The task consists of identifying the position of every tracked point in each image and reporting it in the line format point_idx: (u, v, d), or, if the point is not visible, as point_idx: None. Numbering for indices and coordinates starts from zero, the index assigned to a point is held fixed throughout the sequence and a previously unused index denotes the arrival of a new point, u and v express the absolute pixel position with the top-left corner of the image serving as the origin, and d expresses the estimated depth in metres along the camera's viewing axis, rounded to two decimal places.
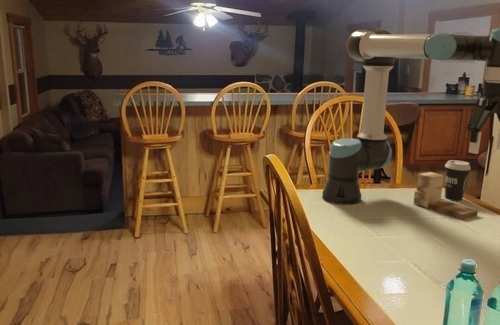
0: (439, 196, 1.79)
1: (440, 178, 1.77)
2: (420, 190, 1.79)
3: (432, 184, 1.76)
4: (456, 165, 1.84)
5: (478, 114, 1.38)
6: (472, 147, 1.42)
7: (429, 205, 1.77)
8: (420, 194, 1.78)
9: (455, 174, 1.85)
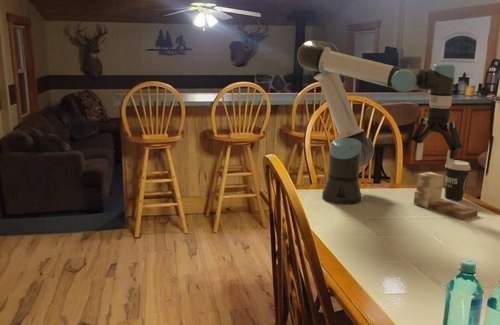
0: (439, 196, 1.79)
1: (440, 178, 1.77)
2: (420, 190, 1.79)
3: (432, 184, 1.76)
4: (456, 165, 1.84)
5: None
6: None
7: (429, 205, 1.77)
8: (420, 194, 1.78)
9: (455, 174, 1.85)
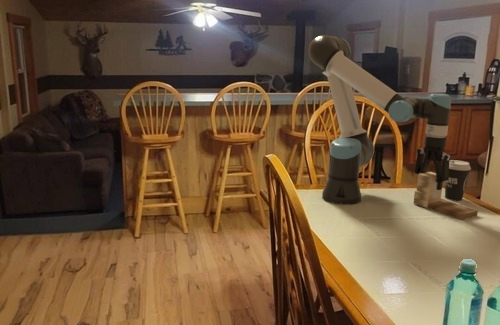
0: (439, 196, 1.79)
1: None
2: (420, 190, 1.79)
3: (432, 184, 1.76)
4: (456, 165, 1.84)
5: None
6: None
7: (429, 205, 1.77)
8: (420, 194, 1.78)
9: (455, 174, 1.85)
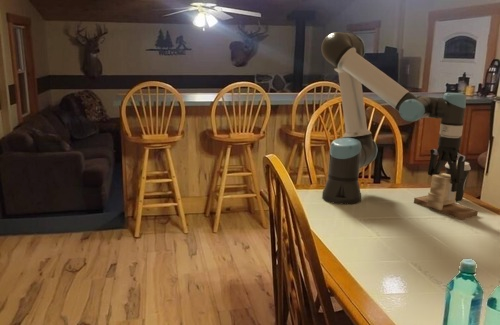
0: None
1: None
2: (434, 192, 1.74)
3: (447, 186, 1.71)
4: (456, 165, 1.84)
5: None
6: None
7: None
8: (434, 197, 1.73)
9: None
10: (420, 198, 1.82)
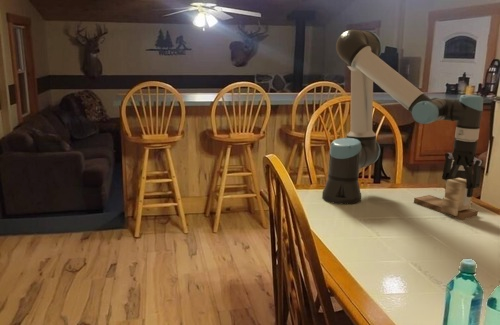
0: (469, 203, 1.69)
1: None
2: (449, 197, 1.69)
3: (462, 191, 1.65)
4: None
5: None
6: None
7: (429, 205, 1.77)
8: (449, 202, 1.68)
9: None
10: (420, 198, 1.82)
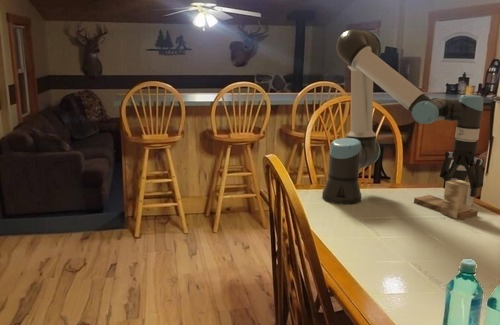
0: None
1: None
2: (448, 199, 1.69)
3: (462, 193, 1.65)
4: None
5: None
6: None
7: (429, 205, 1.77)
8: (449, 204, 1.68)
9: (455, 174, 1.85)
10: (420, 198, 1.82)
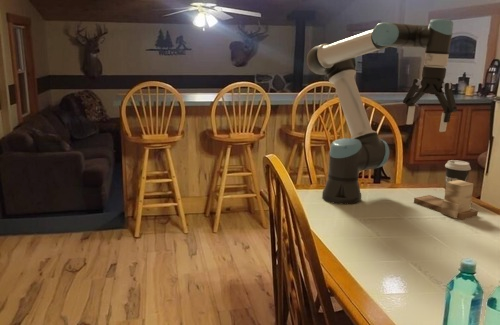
0: (468, 205, 1.69)
1: (470, 187, 1.67)
2: (448, 199, 1.69)
3: (462, 193, 1.65)
4: (456, 165, 1.84)
5: None
6: None
7: (429, 205, 1.77)
8: (449, 204, 1.68)
9: (455, 174, 1.85)
10: (420, 198, 1.82)
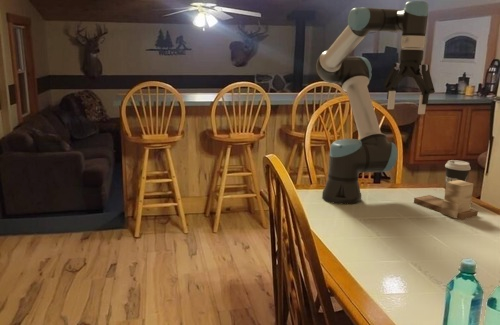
0: (468, 205, 1.69)
1: (470, 187, 1.67)
2: (448, 199, 1.69)
3: (462, 193, 1.65)
4: (456, 165, 1.84)
5: None
6: None
7: (429, 205, 1.77)
8: (449, 204, 1.68)
9: (455, 174, 1.85)
10: (420, 198, 1.82)
